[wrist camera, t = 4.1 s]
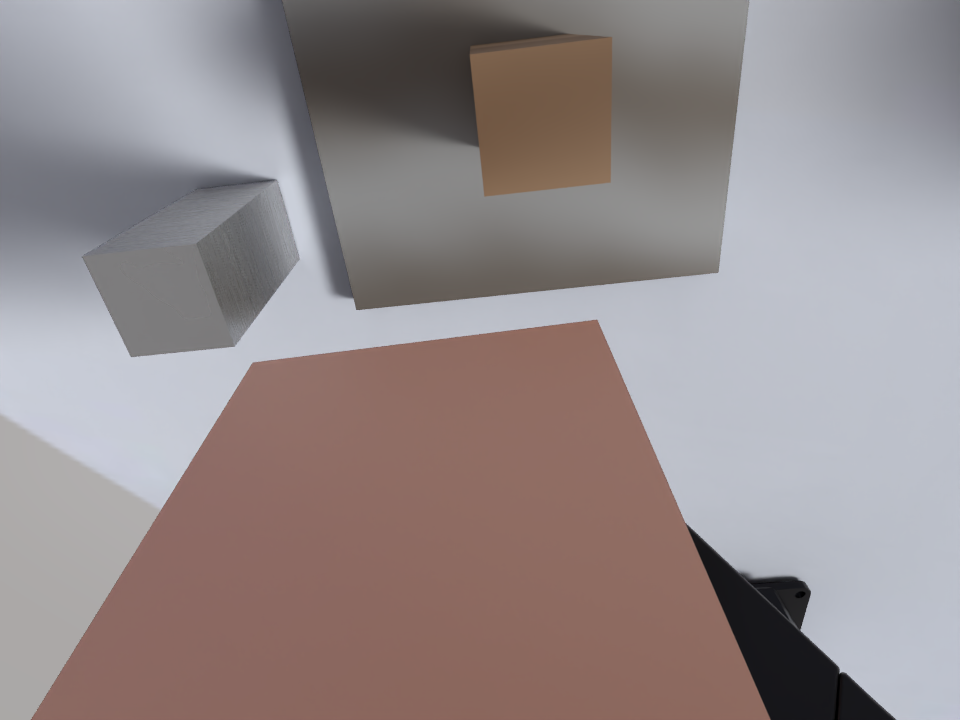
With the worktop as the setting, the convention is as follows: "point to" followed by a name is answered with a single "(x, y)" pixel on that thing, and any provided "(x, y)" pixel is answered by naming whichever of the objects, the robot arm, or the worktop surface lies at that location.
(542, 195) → the plate
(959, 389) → the worktop surface
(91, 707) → the salmon pink block
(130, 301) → the post steel
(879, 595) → the worktop surface
